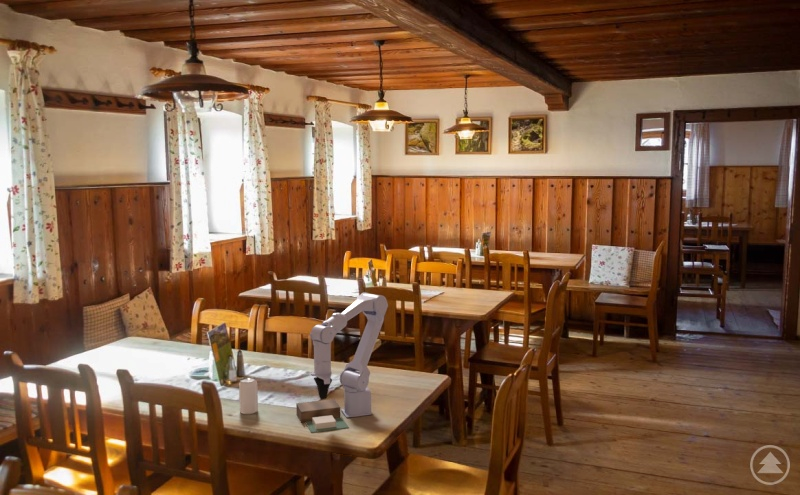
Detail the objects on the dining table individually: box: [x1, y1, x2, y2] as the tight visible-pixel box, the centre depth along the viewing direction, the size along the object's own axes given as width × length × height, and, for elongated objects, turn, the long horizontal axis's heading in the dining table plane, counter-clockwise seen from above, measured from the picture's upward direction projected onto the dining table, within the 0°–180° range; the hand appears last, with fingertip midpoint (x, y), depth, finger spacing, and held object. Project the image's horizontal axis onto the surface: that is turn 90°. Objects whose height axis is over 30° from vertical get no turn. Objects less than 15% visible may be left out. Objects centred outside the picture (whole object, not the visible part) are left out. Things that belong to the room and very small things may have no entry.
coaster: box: [312, 415, 336, 429], centre depth 230 cm, size 7×6×2 cm
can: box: [238, 376, 259, 416], centre depth 243 cm, size 6×6×12 cm
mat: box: [305, 416, 350, 434], centre depth 231 cm, size 13×10×1 cm
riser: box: [295, 398, 341, 424], centre depth 239 cm, size 14×9×4 cm, turn 109°
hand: (323, 398), depth 230 cm, fingers closed
